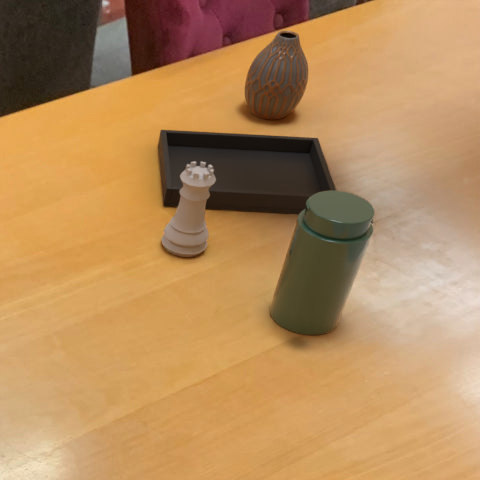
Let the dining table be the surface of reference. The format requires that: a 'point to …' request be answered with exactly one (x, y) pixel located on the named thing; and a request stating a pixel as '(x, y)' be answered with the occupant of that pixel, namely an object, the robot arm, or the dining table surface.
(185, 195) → the rook chess piece
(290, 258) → the jar
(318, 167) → the tray
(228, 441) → the dining table surface
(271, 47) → the vase
